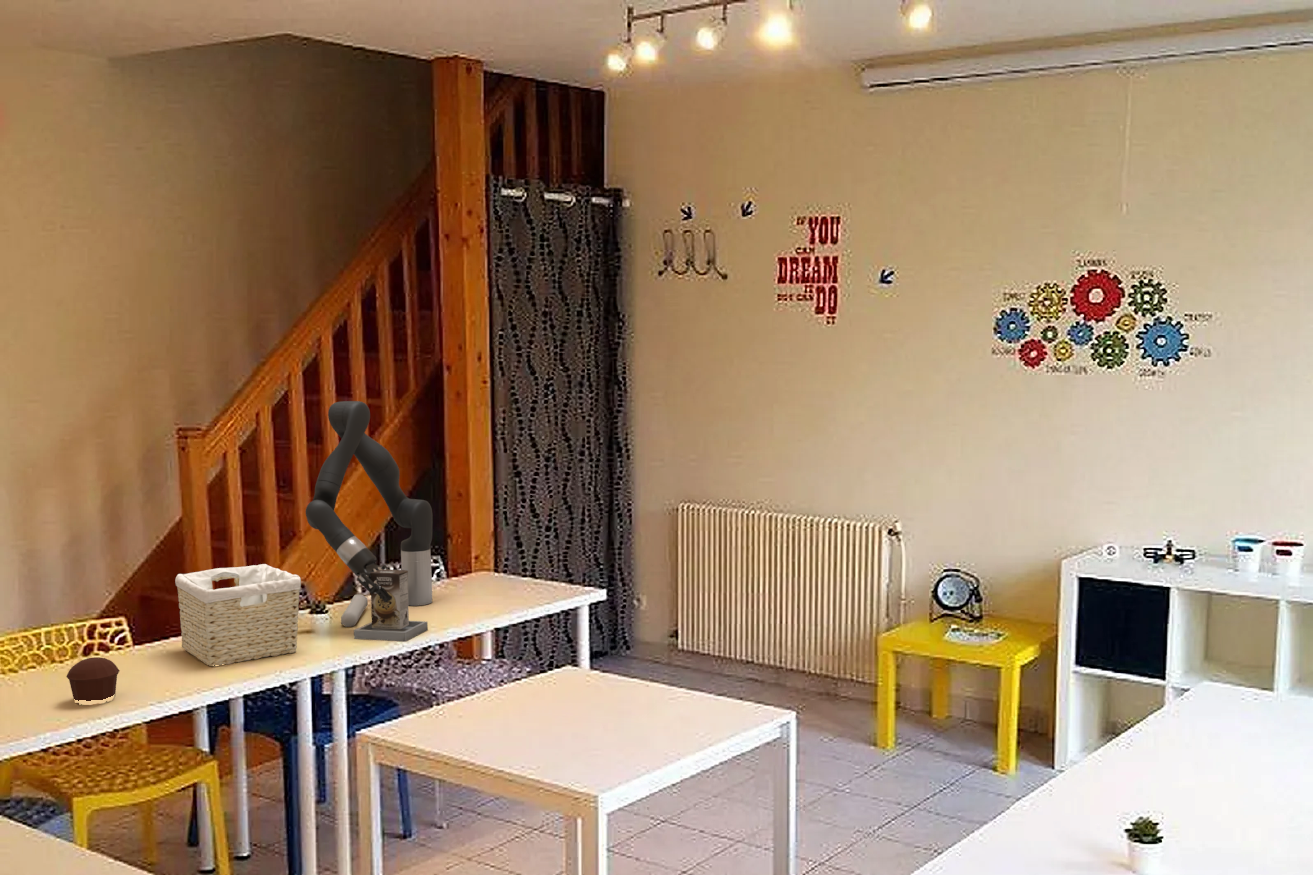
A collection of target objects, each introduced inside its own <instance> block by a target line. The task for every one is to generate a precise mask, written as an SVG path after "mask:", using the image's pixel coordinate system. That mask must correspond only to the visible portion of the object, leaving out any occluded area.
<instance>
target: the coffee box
mask: <svg viewBox="0 0 1313 875" xmlns="http://www.w3.org/2000/svg"><path fill="white" fill-rule="evenodd" d="M388 569H389V568H388ZM388 569H382V570H377V571H376V572H371V573H370V574H371V580H372V581H373V582H374V581H375V580H376V579H378V583H379V584H380V585H381V586H382V588H384V590H385V591H386V592H387V593H388V594H389V595H390V596H391V599H390V600H389V601H388V602H387V603H385V602H384V601H383V600H382V598H381V597H380V596H379V595H378V594H375V593H374V592H373V593H372V594H371V593H370V604H371V605H370V609H371V610H370V611H371V622H372V628H382V629H402V628H404V627H406V626H408V625H409V621H410V620H409V618H410V617H409V605H408V570H402V569H389V570H388ZM376 585H377V584H376Z"/></svg>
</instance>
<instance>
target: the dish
mask: <svg viewBox="0 0 1313 875" xmlns="http://www.w3.org/2000/svg"><path fill="white" fill-rule="evenodd" d="M428 628H429V625H428V621H424V620H423V621H422V620H409V625H408V626H406V627H404V628H402V629H382V628H372V621H371V622H369V623H366V624H364V625H362V626H359V627H358V628H355V629H354V630H353V639H354V640H368V641H369V640H370V641H371V640H372V641H373V640H374V641H386V642H387V641H388V642H389V641H391V642H407V641H409V640H411V639H414V638H415V637H417V636H419V635H421V634H423V633H425V632H427V631H429V629H428Z"/></svg>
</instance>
